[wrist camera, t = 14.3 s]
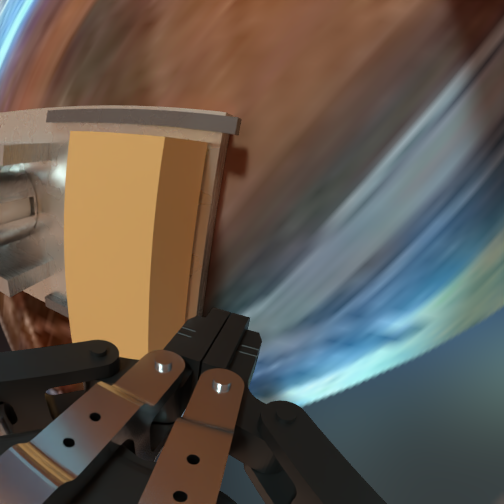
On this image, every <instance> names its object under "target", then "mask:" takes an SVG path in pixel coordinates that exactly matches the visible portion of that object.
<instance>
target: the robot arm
mask: <svg viewBox="0 0 504 504" xmlns="http://www.w3.org/2000/svg"><path fill="white" fill-rule="evenodd" d="M249 321H250V318H249V317H246V316H242V315H238V314H235V313H231V312H227V311H224V310H220V309H217V308H212V309H211V311H210V312H209V314H208V315H207V316H206V318H205V317H201V316H198V315H197V316H195V317H193V318H190V319H188V320H187V321H186V322H185V324H184V325H183V326H182V328H180V330H179V331H178V333H176V334H175V336H174V337H173V338H172V339H171V340H170V342H169V343H168V344H167V345H166V346H165V348H164V349H163V350H155V351H151V352H149V353H147V354H146V355H145V356H143V357H142V358H141V359H140V360H136V359H129V358H123V357H119V350H118V348H117V347H116V346H115V345H114V344H113V343H111V342H108V341H105V340H90V341H83V342H77V343H70V344H64V345H57V346H49V347H42V348H34V349H26V350H18V351H10V352H0V504H237V503H236V502H235V501H233V500H232V499H231V498H230V497H228V496H227V495H226V494H224V493H223V492H221V491H220V486H221V482H222V478H223V474H224V470H225V466H226V462H227V458H228V454H229V455H231V456H232V457H234V458H236V459H238V460H239V461H241V462H243V463H244V469H245V471H246V473H247V474H248V476H249V478H250V480H251V481H252V483H253V484H254V486H255V487H256V489H257V491H258V492H259V494H260V496H261V497H262V498H263V500H264V502H265V503H266V504H386V502H385V501H384V500H383V499H382V498H381V497H380V496H379V495H378V494H377V493H376V492H375V491H374V490H373V489H372V487H371V486H370V485H369V484H368V483H367V482H366V481H365V480H364V479H363V478H362V477H361V476H360V474H359V473H358V472H357V471H356V470H355V469H354V468H353V467H352V466H351V464H350V463H349V462H348V461H347V460H346V459H345V458H344V457H343V456H342V454H341V453H340V452H339V451H338V450H337V449H336V448H335V446H334V445H333V444H332V443H331V442H330V441H329V440H328V438H327V437H326V436H325V435H324V434H323V432H322V431H321V430H320V429H319V428H318V427H317V425H316V424H315V423H314V422H313V421H312V420H311V418H310V417H309V416H308V415H307V414H306V412H305V411H304V410H303V409H302V408H301V407H299V406H298V405H296V404H294V403H291V402H287V401H273V402H270V403H268V404H265V403H263V402H261V401H259V400H258V399H256V398H255V397H254V396H253V395H252V394H251V392H250V391H249V389H248V388H249V385H250V382H251V379H252V376H253V373H254V370H255V366H256V362H257V358H258V354H259V351H260V347H261V343H262V340H261V337H260V334H259V333H258V332H254V331H250V330H248V326H249ZM81 382H83V385H84V390H81V391H75V392H70V393H64V394H59V395H48V394H47V393H45V392H46V391H47V390H48V389H50V388H53V387H59V386H65V385H70V384H76V383H81ZM185 409H186V410H185ZM184 410H185V412H184ZM183 412H184V415H183V417H181V416H182V414H183ZM162 448H163V450H162ZM161 450H162V452H161V454H160V456H159V459H158V461H157V462H154V460H155V458H156V457H157V455H158V454H159V452H160V451H161Z"/></svg>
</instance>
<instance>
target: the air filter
mask: <svg viewBox="0 0 504 504" xmlns="http://www.w3.org/2000/svg"><path fill="white" fill-rule="evenodd" d="M36 218H37V200H36V194H35V190H34V187H33V185H32V183H31V180H30V179H29V178H28V176H27V175H26V174H25V173H23V172H22V171H17V170H15V171H8V172H1V173H0V247H2V246H5V245H7V244H10V243H13V242H15V241H18V240H21V239H24V238H26V237H28V236H29V235H30V234H31V232H32V231H33V229H34V226H35V224H36Z"/></svg>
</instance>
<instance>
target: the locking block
mask: <svg viewBox="0 0 504 504" xmlns="http://www.w3.org/2000/svg"><path fill="white" fill-rule="evenodd" d="M207 145H208V143H207V142H201V141H194V140H186V139H179V138H171V137H162V136H151V135H140V134H127V133H112V132H92V131H70V138H69V146H68V156H67V167H66V180H65V199H64V260H65V279H66V293H67V304H68V313H69V322H70V330H71V337H72V343H77V342H83V341H90V340H105V341H108V342H111V343H113V344H114V345H115V346H116V347H117V348H118V350H119V357H123V358H129V359H136V360H140V359H141V358H142V357H143V356H145V355H146V354H147V353H149V352H151V351H155V350H163V349H164V348H165V346H166V345H167V344H168V343H169V342H170V340H171V339H172V338H173V337H174V336H175V334H176V333H178V331H179V330H180V328H182V326H183V325H184V324H185V314H186V303H187V293H188V283H189V274H190V265H191V257H192V248H193V240H194V232H195V225H196V217H197V210H198V203H199V196H200V189H201V182H202V176H203V169H204V163H205V157H206V151H207Z"/></svg>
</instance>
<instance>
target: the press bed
mask: <svg viewBox="0 0 504 504" xmlns="http://www.w3.org/2000/svg"><path fill="white" fill-rule="evenodd" d="M240 124H241V119H240V118H238V117H233V116H232V115H230V114H228V113H226V112H218V111H208V110H198V109H186V108H172V107H153V106H72V107H54V108H41V109H30V110H20V111H12V112H4V113H0V173H1V172H8V171H15V170H17V171H22V172H23V173H25V174H26V175H27V176H28V178H29V179H30V180H31V183H32V185H33V187H34V190H35V194H36V200H37V218H36V224H35V226H34V229H33V231H32V232H31V234H30V235H29V236H28V237H26V238H24V239H21V240H18V241H15V242H13V243H10V244H7V245H5V246H2V247H0V291H1V292H2V293H4V294H6V295H7V296H9V297H11V296H13V295H15V294H17V293H19V292H21V291H24V292H26V293H28V294H30V295H32V296H33V297H35V298H37V299H39V300H41V301H43V302H45V304H46V307H48V308H50V309H52V310H54V311H56V312H58V313H60V314H62V315H64V316H66V317H68V318H69V313H68V304H67V293H66V279H65V260H64V199H65V180H66V167H67V156H68V146H69V138H70V131H92V132H112V133H127V134H140V135H151V136H162V137H171V138H179V139H186V140H194V141H201V142H207V143H208V145H207V151H206V157H205V163H204V169H203V176H202V182H201V189H200V196H199V203H198V210H197V217H196V225H195V232H194V240H193V248H192V257H191V265H190V274H189V283H188V293H187V303H186V314H185V322H186V321H187V320H188V319H190V318H193V317H195V316H197V315H198V316H201V317H202V315H203V307H204V299H205V291H206V283H207V276H208V268H209V261H210V254H211V247H212V240H213V233H214V226H215V220H216V213H217V207H218V200H219V194H220V188H221V182H222V175H223V169H224V164H225V158H226V152H227V146H228V140H229V135H230V134H232V135H239V129H240Z"/></svg>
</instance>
